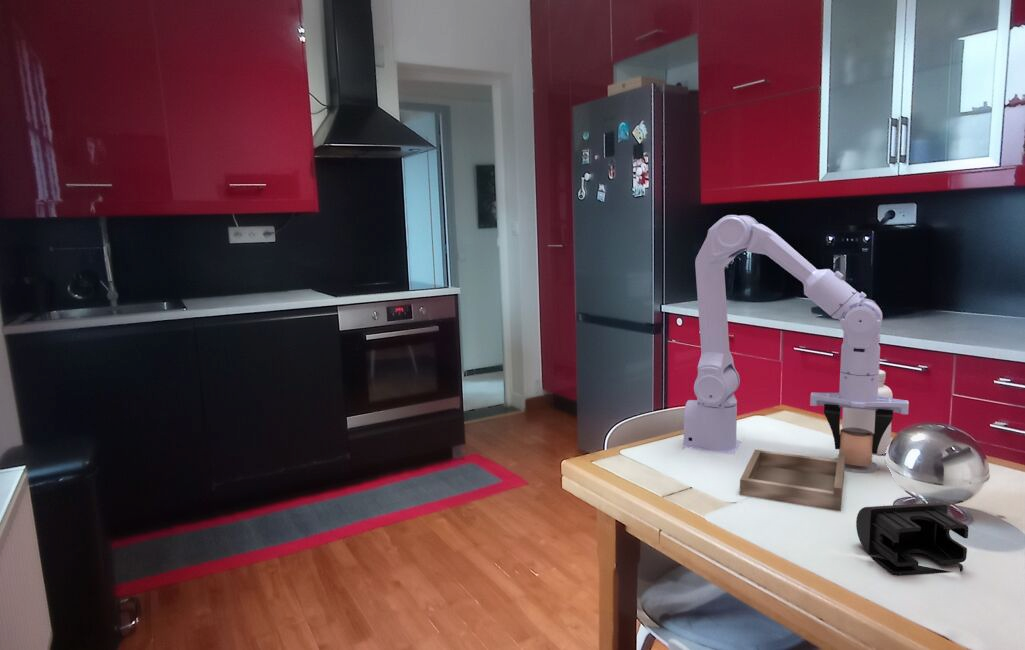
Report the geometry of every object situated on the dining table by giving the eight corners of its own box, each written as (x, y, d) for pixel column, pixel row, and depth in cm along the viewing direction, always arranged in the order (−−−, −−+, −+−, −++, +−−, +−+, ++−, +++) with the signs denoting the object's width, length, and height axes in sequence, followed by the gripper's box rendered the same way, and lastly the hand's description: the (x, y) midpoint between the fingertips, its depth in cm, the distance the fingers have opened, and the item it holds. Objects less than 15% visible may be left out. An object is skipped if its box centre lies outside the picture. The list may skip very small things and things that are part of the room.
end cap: (927, 543, 83) (930, 494, 82) (969, 571, 76) (973, 518, 75) (853, 548, 82) (856, 499, 81) (889, 577, 75) (892, 523, 74)
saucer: (831, 472, 107) (831, 467, 107) (833, 459, 113) (833, 454, 113) (878, 478, 104) (878, 474, 104) (878, 464, 110) (878, 460, 110)
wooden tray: (739, 497, 99) (740, 473, 98) (754, 465, 111) (755, 444, 111) (840, 514, 92) (841, 488, 91) (843, 478, 105) (844, 455, 104)
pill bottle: (877, 442, 121) (881, 365, 119) (898, 456, 114) (902, 375, 111) (834, 442, 122) (837, 366, 120) (852, 456, 114) (855, 375, 112)
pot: (835, 461, 108) (837, 432, 107) (841, 452, 111) (843, 424, 111) (869, 468, 105) (871, 438, 104) (873, 458, 108) (876, 429, 108)
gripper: (810, 373, 106) (807, 451, 108) (911, 381, 99) (906, 463, 101) (813, 365, 112) (810, 438, 114) (909, 371, 105) (904, 449, 107)
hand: (855, 449), depth 108 cm, fingers closed on pot, 5 cm apart
